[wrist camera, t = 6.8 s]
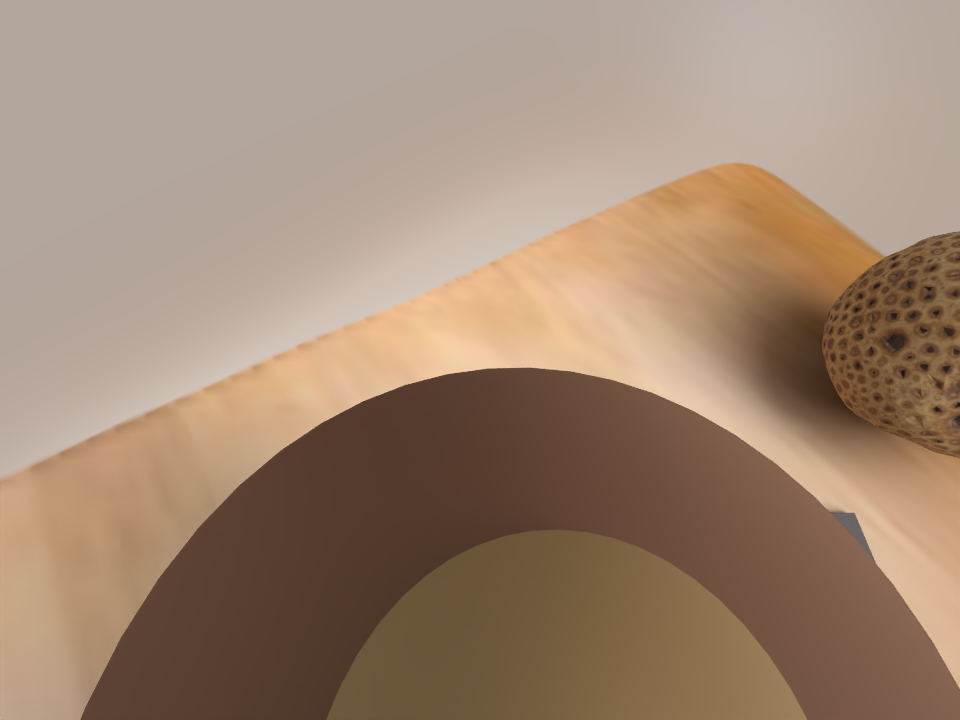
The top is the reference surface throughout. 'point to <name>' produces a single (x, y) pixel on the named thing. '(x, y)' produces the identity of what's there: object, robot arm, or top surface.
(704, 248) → the top surface
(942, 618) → the top surface
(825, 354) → the natural sponge
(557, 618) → the brown thread spool
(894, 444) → the top surface
